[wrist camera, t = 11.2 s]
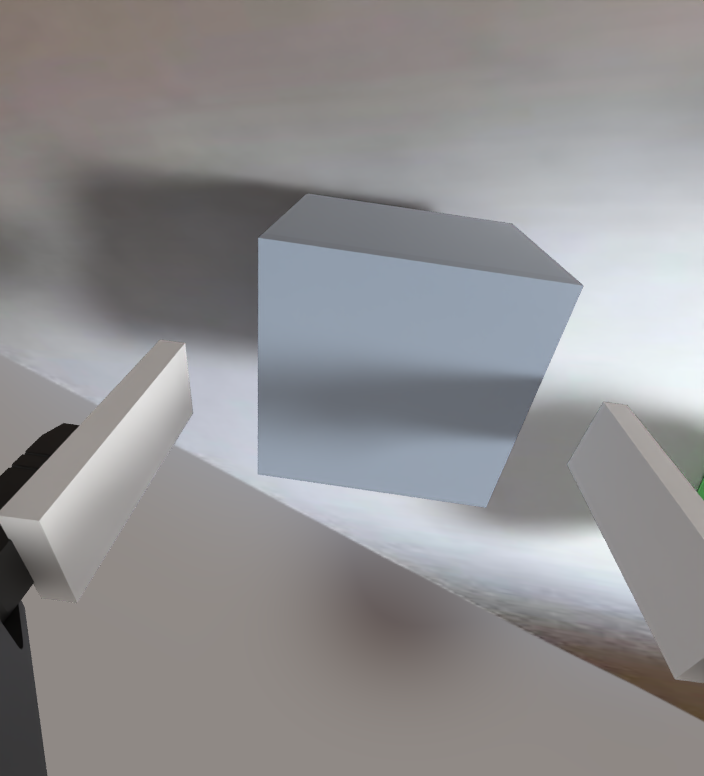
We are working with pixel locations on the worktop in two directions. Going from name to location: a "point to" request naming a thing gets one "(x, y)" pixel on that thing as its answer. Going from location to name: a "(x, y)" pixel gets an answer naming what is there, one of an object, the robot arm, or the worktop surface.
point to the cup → (701, 490)
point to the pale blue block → (400, 346)
